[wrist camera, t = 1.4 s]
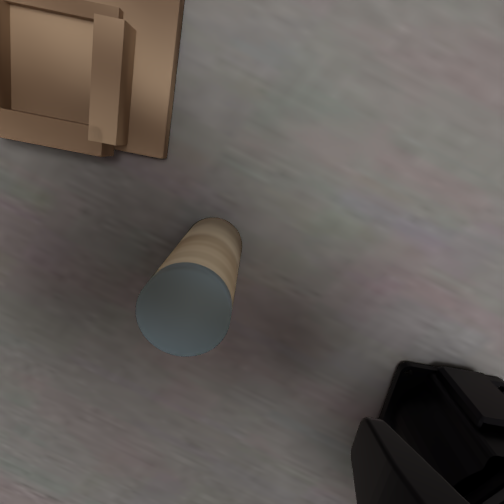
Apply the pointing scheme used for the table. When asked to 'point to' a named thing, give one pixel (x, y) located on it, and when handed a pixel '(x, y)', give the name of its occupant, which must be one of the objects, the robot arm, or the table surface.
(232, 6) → the table surface
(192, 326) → the peg
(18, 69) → the cradle
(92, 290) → the table surface
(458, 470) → the robot arm
